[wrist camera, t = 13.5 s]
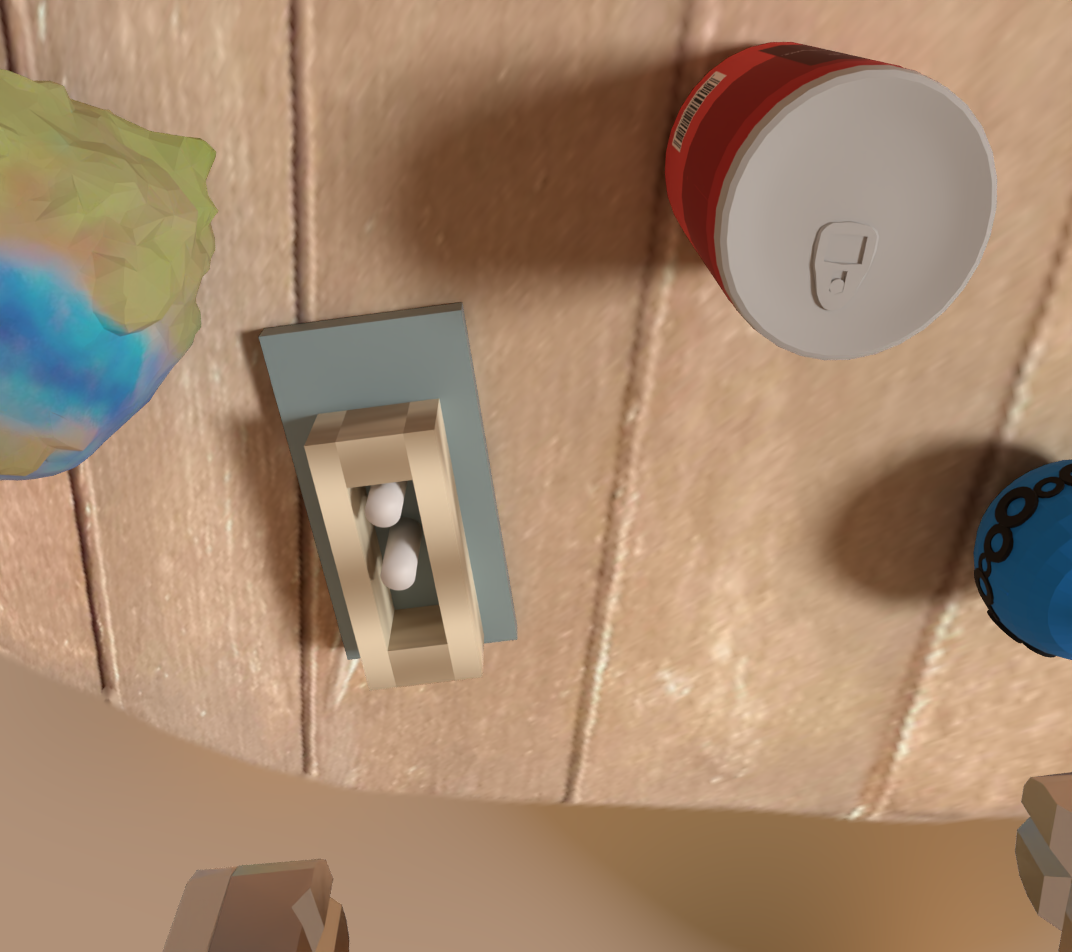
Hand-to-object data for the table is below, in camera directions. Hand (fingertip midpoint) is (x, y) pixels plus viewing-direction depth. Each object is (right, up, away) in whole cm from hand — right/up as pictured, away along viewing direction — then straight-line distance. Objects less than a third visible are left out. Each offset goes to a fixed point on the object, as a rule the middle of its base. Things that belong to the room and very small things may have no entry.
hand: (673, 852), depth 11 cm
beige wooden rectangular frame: (-7, +2, +31) cm, 31 cm away
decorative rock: (-20, +15, +25) cm, 35 cm away
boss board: (-7, +4, +31) cm, 32 cm away
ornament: (+21, +3, +32) cm, 39 cm away
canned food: (+7, +16, +25) cm, 31 cm away
